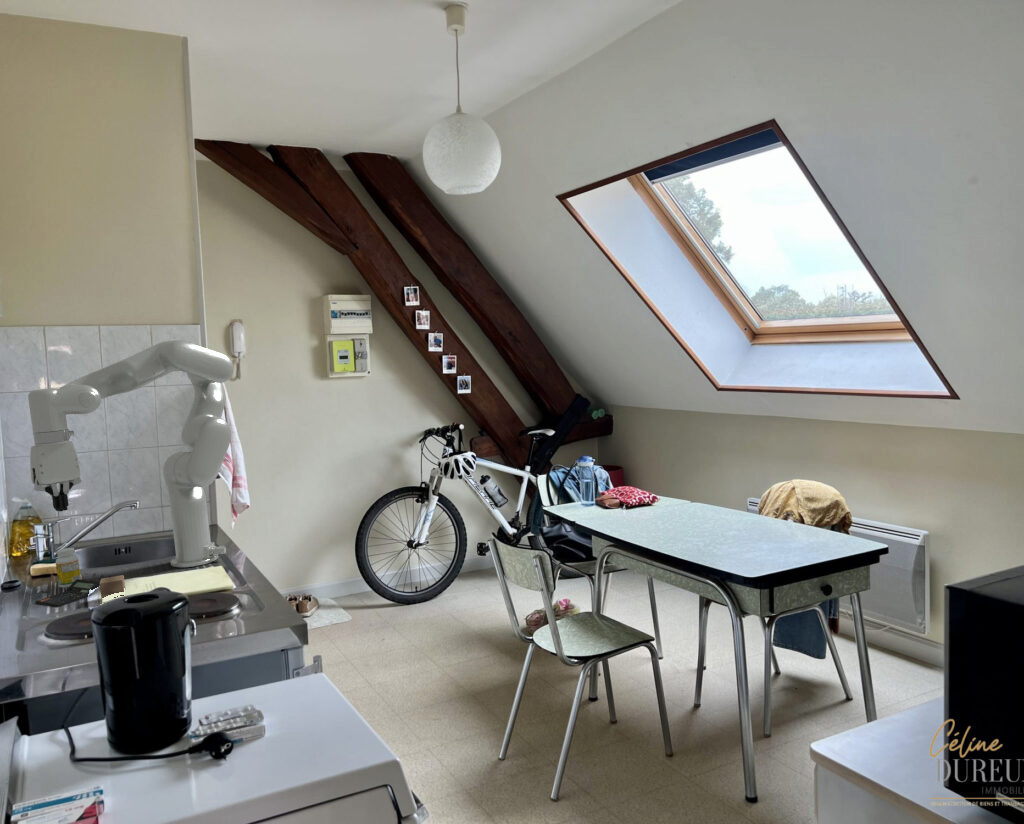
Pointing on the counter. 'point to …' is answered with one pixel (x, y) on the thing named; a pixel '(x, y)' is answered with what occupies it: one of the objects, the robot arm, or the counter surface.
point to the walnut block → (112, 585)
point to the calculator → (70, 593)
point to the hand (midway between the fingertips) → (61, 510)
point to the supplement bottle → (67, 567)
